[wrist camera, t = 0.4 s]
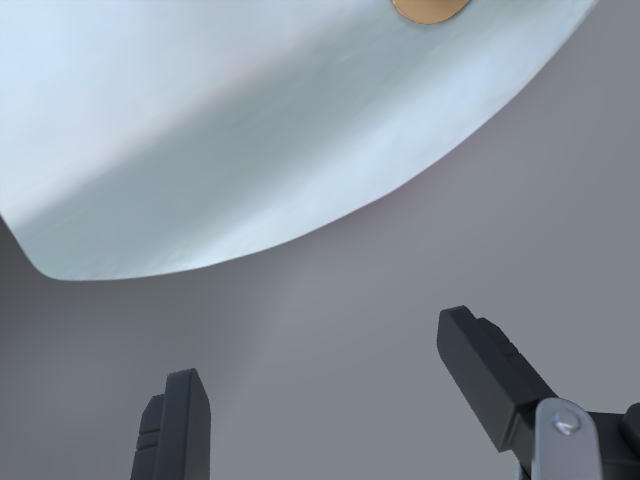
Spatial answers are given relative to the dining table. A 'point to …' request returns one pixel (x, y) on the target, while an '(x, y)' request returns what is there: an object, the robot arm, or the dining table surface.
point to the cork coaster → (428, 9)
